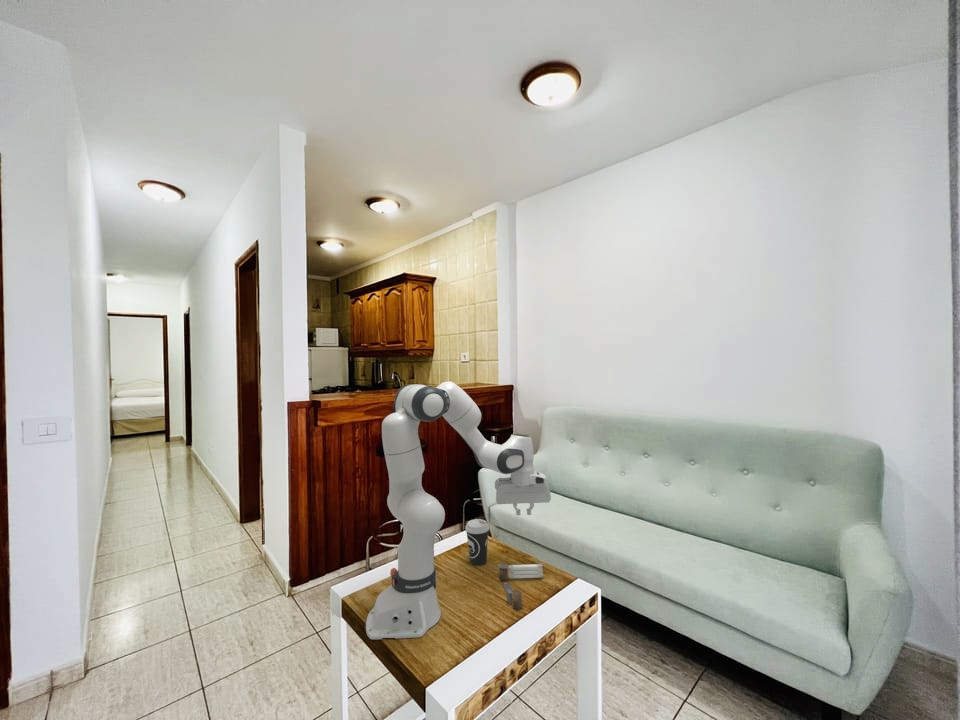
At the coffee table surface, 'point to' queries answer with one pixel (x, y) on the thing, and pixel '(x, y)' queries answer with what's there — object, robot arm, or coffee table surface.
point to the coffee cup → (477, 541)
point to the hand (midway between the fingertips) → (523, 514)
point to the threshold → (508, 588)
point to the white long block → (526, 571)
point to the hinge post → (503, 572)
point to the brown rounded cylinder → (515, 599)
